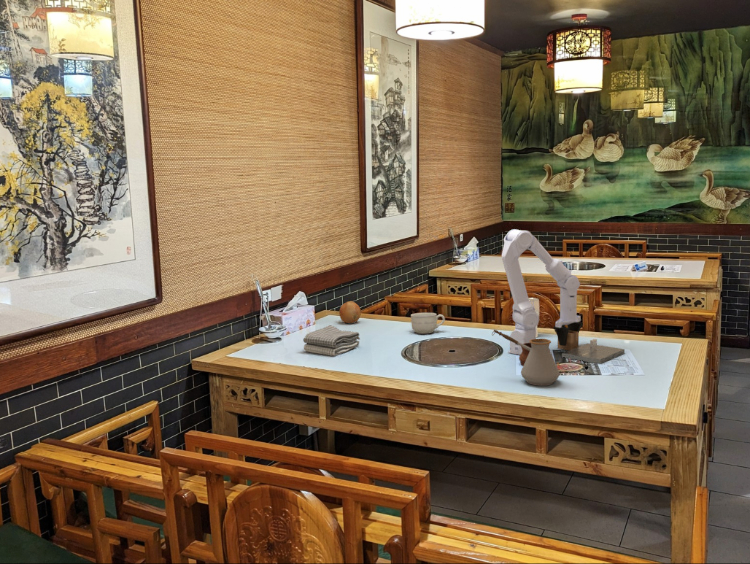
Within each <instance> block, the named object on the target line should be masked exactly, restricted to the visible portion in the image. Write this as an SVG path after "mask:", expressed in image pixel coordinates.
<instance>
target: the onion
mask: <svg viewBox="0 0 750 564" xmlns="http://www.w3.org/2000/svg"><path fill="white" fill-rule="evenodd" d="M361 311H362V310H361V308H360V306H359V305H358V304H357V303H356V302H355V301H353V300H350V301H346V302H345V303H343V304H342V305H340V308H339V311H338V314H339V317H340V319H341V321H342V322H343V323H345V322H346V323H345V324H347V323H351V324H354V322H355V323H356V322H357V321H359V320H360V318H361V314H362V312H361Z"/></svg>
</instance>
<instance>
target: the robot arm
mask: <svg viewBox="0 0 750 564" xmlns="http://www.w3.org/2000/svg"><path fill="white" fill-rule="evenodd" d="M526 250H527V251H528V250H529V251H531V252H532V254H534V255H535V256H536V257H537V258H538V260H540V261H541V262H542V263H543V264H544V265H545V271H546V272H547V273H548V274H549V275H550V276H551V277H552V278H553V280H555V281H556V284H557V286H558V287H559V291H560V293H559V299H560V300H559V317H560V318H559V319H557V320H556V321H555V325H553V331H554V332H555V333H556V336H557V341H558V340H559V344H560V345H561V346H566V342H567V335H568V332H569V330H570V331H577V332H580V331H581V329H582V327H583V323H584V322H581V321H582V319H581V316H582V315H578V314H577V306H578V305H577V302H578V301H577V299H578V298H577V295H578V290H579V288H580V286H581V282H580V281H579V278H578V277H577V276H576V275H575V274H572V270H571V269H568V268H567V267H566V266H565V265H564V261H563V260H562V259H558V258H553V257H552V255H550V253H549V252H548V251H547V250H546V248H545V247H544V246H543V245H542V244H541V242H539V240H538V238H536V237H535V235H533V234H532V233H531V232H530V231H529V230H521V229H520V230H519V229H517V228H516V229H515V228H514V229H511V230H509V231H508V232H507V234H506V235H505V236H504V238H503V248H502V251H501V260H502V264H503V267H504V270H505V274H506V278H507V283H508V286H509V288H510V294H511V297H512V299H513V304H512V307H511V308H512V320H513V321H514V323H515V325H514V326H515V327H514V330H512V332H511V333H510V335H509V336H510V337H511V338H513V339H515V340H516V341H518V342H520V343H522V344H524V343H530V342H529V341H530V340H532V339H537V338H536V326H537V327H538V324H539V322H540V315H539V316H538V314H537V313H536V312H535V311H534V307H533V306H532V304H531V303H530V301H529V299H528V298H529V296H528V291H527V288H526V287H527V286H526V284H525V280H524V276H523V273H522V269H521V266H520V262H519V258H520V257H521V255H522V254H523V253H524V252H525V251H526ZM509 346H510V347H509V350H508V351H507V353H508V354H514V355H519V356H520V354H521V353H522V348H521V346H520V345H518V344H516V343H513V342H511V341H509Z"/></svg>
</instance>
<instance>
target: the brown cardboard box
mask: <svg viewBox="0 0 750 564" xmlns="http://www.w3.org/2000/svg"><path fill="white" fill-rule="evenodd" d="M579 332H580V331H579ZM579 332H577V331H570V330H569V332H568V335H567V342H566V346H561V345H560V344H559V340H558V339H557V349H558V350H565V351H569V350H572V349H574V348H577V347H579V342H580V341H579Z"/></svg>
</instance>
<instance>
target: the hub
mask: <svg viewBox="0 0 750 564" xmlns="http://www.w3.org/2000/svg"><path fill="white" fill-rule="evenodd" d="M623 353H624V354H625V349H624V348H619V347H613V346H606V345H600V344H598V339H597V338H593V339H591V340H589V343H586V344H583V345H580V346H579V347H577V348H574V349H572V350H565V351H564V352H562V353H561V358H563V357H565V359H569V358H571V359H570V360H575V359H577V360H576V361H580V360H583V362H588V363H593V364H598V365H601V364H602V363H605V362H607V361H610V360H612V359H615V358H617V357H619V356H621V354H622V355H624V354H623ZM614 357H615V358H614Z"/></svg>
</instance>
